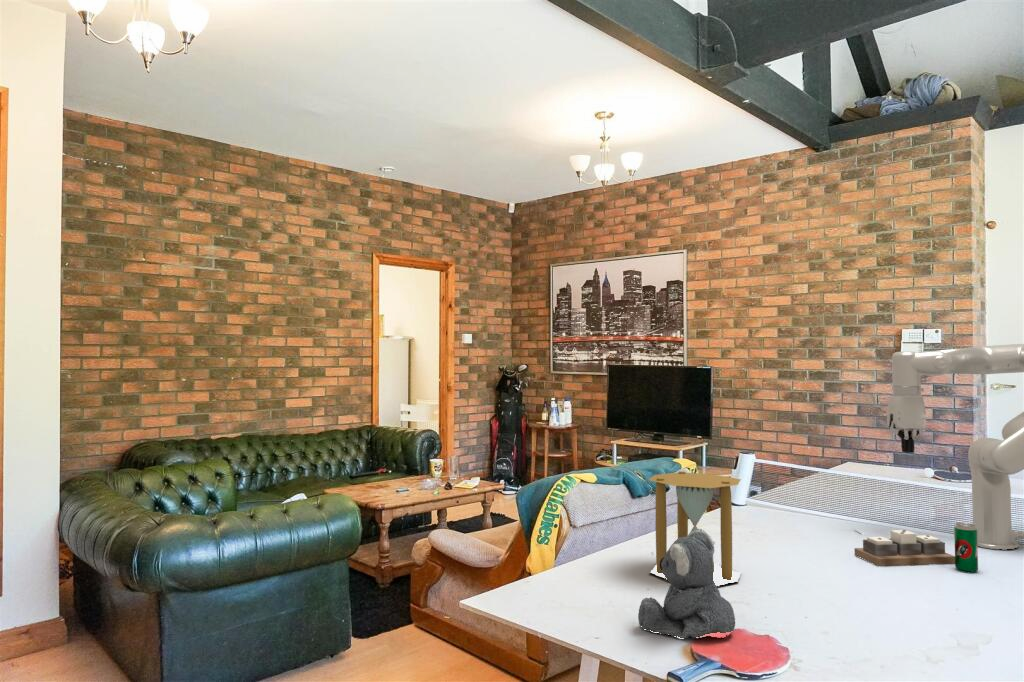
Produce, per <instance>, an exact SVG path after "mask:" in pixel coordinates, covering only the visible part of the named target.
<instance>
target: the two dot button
mask: <svg viewBox="0 0 1024 682" xmlns="http://www.w3.org/2000/svg"><path fill="white" fill-rule="evenodd" d="M916 540H918V541H921V542H923V543H940V541H941V539H940V538H939V537H938V538H937V537H936V536H932V535H930V534H929V535H928V534H927V535H925V534H924V535H923V534H921V535H916Z"/></svg>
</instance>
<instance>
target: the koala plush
mask: <svg viewBox="0 0 1024 682" xmlns="http://www.w3.org/2000/svg"><path fill="white" fill-rule="evenodd" d="M697 529H698V531H697V530H694V532H692V531H691V530H690V532H691V534H690V535H689V534H688V535H689V537H683V538H682V537H681V538H679V539H678V538H677V539H675V541H673V543H672V544H671V545H670V547H669V548H668V550H667V553H666V555H665V557H663V558H662V559H661V560H660V569H661V570H662V572H663V574H664V575H665V577H666V578H667V580H668V581H667V580H666V581H667V582H669V584H670V585H669V587H668V590H667V592H666V595H665V597H664V601H663V606H662V605H661V604H660V603H659V601H658V600H657V599H655V598H653V597H652V596H651V597H644V598H643V599H641V602H640V606H639V609H638V615H637V617H638V618H637V619H638V624H639V626H640V627H641V626H642V627H641V628H642V629H643V628H644V629H646V630H645V631H647V630H649V631H648V632H650V630H651V631H653V632H659V633H661V634H669V635H672V636H671V637H673V636H676V637H677V636H678V637H680V638H687V639H688V638H689V636H690V637H691V638H693V639H695V638H696V637H700V636H703V635H705V634H710V633H717V632H720V633H726V632H731V631H733V632H734V631H735V628H736V617H735V612H734V608H733V606H732V604H731V603H730V601H729V600H727V599H726V598H725V597H723V596H722V595H721V592H720V590H719V589H718V587H716V585H715V583H714V581H713V572H714V569H713V561H714V554H715V543H716V541H714V540H713V539H712V538H711V537H712V536H711V535H709V534H708V533H709V532H707V531H706V530H704V529H702V528H697ZM712 557H713V559H712ZM644 629H643V630H644ZM731 633H732V632H731Z"/></svg>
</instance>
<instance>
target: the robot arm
mask: <svg viewBox="0 0 1024 682" xmlns="http://www.w3.org/2000/svg"><path fill="white" fill-rule="evenodd" d="M1011 373H1012V374H1016V373H1018V374H1019V373H1024V343H1015V344H999V345H997V344H994V345H980V346H972V347H971V346H970V347H964V348H955V349H942V350H941V349H940V350H921V351H919V352H917V351H896V352H894V353H892V356H891V377H892V378H891V381H892V396H889V400H888V405H887V413H886V419H887V420H886V425H887V427H888V428H889V432H890V433H891V434H895V435H897V436H898V437H899V438H898V439H900V440H901V441H900V443H901V447H900V448H901V452H902V453H905V454H913V453H914V452H915V451H914V450H915V440H916V439H917V436H919V434H923V433H924V434H925V432H926V429H925V428H926V427H927V413H926V406H925V401H924V398H923V396H922V393H924V392H925V390H924V389H925V388H923V387H922V386H921V384H922V381H921V376H943V375H946V374H947V375H948V374H967V375H993V374H994V375H998V374H1011ZM1001 436H1002V439H1003V440H1002V439H997V438H991V437H980V438H978V439H976V440H974V441H973V442H972V443H971V444H970V445H969V449H968V451H967V458H968V464H969V469H970V476H971V496H972V497H971V501H972V503H971V505H972V506H971V509H972V510H971V511H972V524H974V525H975V527H976V529H977V542H978V547H979V546H980V547H979V548H984V549H991V550H999V549H1002V551H1003V550H1005V551H1007V549H1013V550H1015V549H1014V548H1017V547H1018V548H1019V543H1018V542H1017V541H1016V540H1018V539H1024V531H1017V532H1016V531H1015V530H1013V529H1012V499H1011V498H1012V497H1011V496H1012V493H1011V492H1012V491H1011V489H1012V487H1011V480H1010V476H1011V475H1016V474H1017V473H1020V472H1022V471H1024V411H1022V412H1020V414H1018V415H1016V416H1015V417H1014V418H1011V419H1010V420H1009V421H1008V422H1006V423H1005V424H1004V426H1002V430H1001ZM1018 548H1017V549H1018Z"/></svg>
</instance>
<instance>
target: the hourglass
mask: <svg viewBox="0 0 1024 682" xmlns="http://www.w3.org/2000/svg"><path fill="white" fill-rule="evenodd" d="M647 480H648V481H651V482H654V483H656V484H655V558H656V559H655V561H656V563H655V564H657V572H658V573H663V572H662V570H661V569H660V560H661V559H662V558H663V557H665V555H666V553H667V551H668V550H667V547H668V546H667V543H668V542H667V538H668V532H667V531H668V528H667V526H668V525H667V522H668V521H667V490H666V485H670V486H675V494H676V497H677V500H676V502H677V505H676V506H677V508H676V509H677V510H676V511H677V513H676V515H677V523H676V525H677V539H679V538H681V537H682V538H683V537H689V535H690V534H691V531H692V532H694V530H697V531H698V529H699V528H698V527H697V525H698V523H699V522H700V520H701V518H702V517H703V515H704V513H705V512H706V510H707V509H708V506H710V504H711V502H712V501H713V500H712V499H713V498H714V497H713V494H714V489H715V488H720V558H721V559H720V560H721V563H720V565H721V568H722V577H723V579H727V580H731V577H732V569H733V516H732V515H733V510H732V507H733V506H732V489H731V487H732V486H733V487H734V486H738V485H739V484H740V481H741V479H740V478H735V477H730V476H725V475H719V474H711V473H699V472H698V473H697V472H686V471H683V470H680V471H678V472H671V473H669V472H668V473H662V474H661V473H659V474H654V475H653V476H651V477H650V478H649V479H647ZM689 521H690V522H691V523H692V525H693V527H692V528H691V530H690V532H689ZM712 559H713V569H714V563H715V561H714V556H713V557H712Z"/></svg>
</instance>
